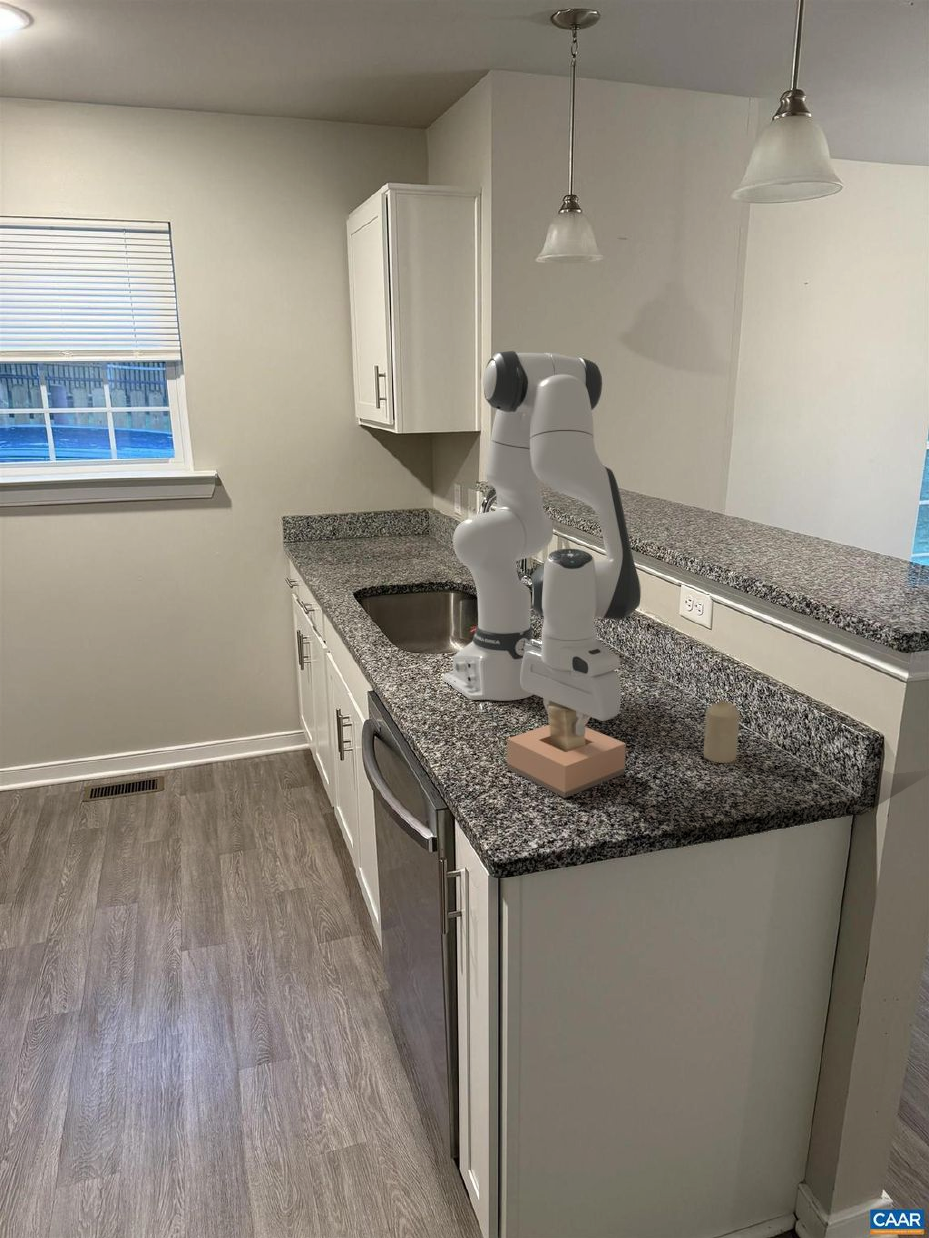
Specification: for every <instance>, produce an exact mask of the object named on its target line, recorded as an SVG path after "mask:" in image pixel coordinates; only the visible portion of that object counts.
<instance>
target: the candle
mask: <svg viewBox="0 0 929 1238" xmlns="http://www.w3.org/2000/svg"><path fill="white" fill-rule="evenodd" d="M705 713H706V714H705V729H704V739H703V740H704V742H703V743H704V744H703V756H704V758H705V759H706V760H708V761H710V762H713V763H716V764H730V763H733V762H735V761H736V760H737V752H738V741H739V740H738V739H739V729H740V727H739V725H740V715H741V713H740V711H739V710H738V708H737V707H736V706H735V705H734V703H731V702H726V701H724V700H720V701H718V702H714V703H713V704H711V705H710V706H709V707H708V708H706V712H705Z"/></svg>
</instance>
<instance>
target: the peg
mask: <svg viewBox="0 0 929 1238" xmlns="http://www.w3.org/2000/svg"><path fill="white" fill-rule="evenodd" d="M548 711H549V723H548V724H549V725H550V736H551V746H553V747H555V748H557V749H560V750H562V751H564V752H568V751H571V750H573V749H576V748H579V747H582V746H584V745H585V735H581V736H578V735H576V734H573V733H572V724H573V723H576V722H577V721H578V719H579V717H577V716H576V711H575V710H572V709H570V708H567V707H565V706H562V705H560V704H557V703H556V704H554V705H551V706H548Z"/></svg>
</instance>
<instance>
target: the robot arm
mask: <svg viewBox="0 0 929 1238" xmlns="http://www.w3.org/2000/svg"><path fill="white" fill-rule="evenodd" d="M598 366H599V365H597V364H596V363H595V362H593V361H591V360H589V359H587V358H583V357H576V358H575V357H573V356H568V355H564V354H559V353H554V352H544V353H541V352H515V351H514V350H508V351H501V352H497V353H495V354H493V356H491V358H490V359H489V360H488V362H487V364H486V366H485V371H484V375H483V379H482V380H483V383H482V385H483V394H484V398H485V400H486V402H487V403H488V405H490V406H491V407H492V408H494V409H496V412H495V414H494V420H493V424H492V429H491V435H490V443H489V449H488V455H487V456H488V457H487V463H486V471H485V475H486V480H487V482H488V483H489V485H490V486H492V488H494V490H495V494H496V508H495V510H492V511H488V512H482V513H481V512H480V513H477V514H475V515H473V516H470V517H469V518H467V519H465V520H463V521H462V522H460V523H459V524H458V525H457V526H456V528H455V529H454V531H453V536H452V547H453V550H454V553H455V555H456V557H457V559H459V561H460V562H461V563H462V564H463V565H464V566H466V568H467V569H468V570H469V572H470V574H471V576H472V578H473V582H474V584H475V585H474V586H475V589H476V595H477V596H476V597H477V613H478V614H477V620H478V621H477V624H478V625H476V626H471V627H470V629H471V630H470V633H474V635H473V638H472V641H471V642H470V643H468V644H467V645H465V646H464V647H463V648H462V649H460V650H459V651H458V652H457V653H456V654H455V655H454V657H453V661H452V670H449V671H448V672H446V673H444V674H443V675H441V676H442V678H441V680H442V682H444V683H445V682H446V683H445V684H447V683H448V684H449V685H448V684H447V685H448V686H450V685H451V686H452V687H451V686H450V687H451V688H453V689H454V690H456V691H458V692H459V693H460V694H461V693H462V695H463V696H464V697H466V698H467V699H468V700H471V701H473V700H474V701H477V700H479V701H483V700H484V701H485V700H487V701H488V700H489V701H501V702H503V701H505V702H506V701H517V700H521V699H522V700H523V699H527V698H530V697H532V696H534V695H535V696H538V697H540V698H543V699H542V700H543V702H542V703H543V706H544V708H545V711H546V713H547V721H548V722H547V723H548V724H550V723H549V711H548V706H551V705H554V704H560V705H562V706H565V707H567V708H570V709H572V710H575V711H576V716H577V717H579V719H578V721H577V722H576V723H573V724H572V733H573V734H576V735H578V736H581V735H584V734H585V727H587V723H588V722H589V721H590V719H591V718H592V719H596V720H597V721H600V722H604V721H608V720H612V719H614V718H615V717H617V715H618V714H619V713H620V711H621V700H622V697H621V695H622V694H621V693H622V691H621V688H622V687H621V679H620V676H619V674H618V672H617V671H616V670H618V669H620V666H621V659H620V656H619V655H618V654H616V653H615V652H613V651H612V650H611V649H609V648H608V647H607V646H605V645H604V644H603V643H602V642H601V641H600V640H599V639H597V629H596V624H595V618H597V619H599V618H600V619H604V620H612V621H613V620H615V621H623V620H624V619H626V618H628V617H629V616H630V615H632V614H633V613H634V612H635V611H636V609H638V608H639V607H640V603H641V598H642V585H641V581H640V578H639V573H638V572H637V571H638V570H637V567H636V564H635V560H634V556H633V552H632V546H631V542H630V538H629V532H628V527H627V522H626V516H625V512H624V508H623V502H622V498H621V494H620V490H619V486H618V483H617V480H616V477H615V474H614V471H613V470H612V469H610V468H609V467H607V466H605V465H604V464H603V463H602V461H601V459H600V458H599V456H598V453H597V450H596V447H595V436H594V435H595V434H594V419H593V412H592V411H593V410H594V409H595V408H596V407H597V405H598V404H599V401H600V399H601V395H602V389H603V377H602V373H601V370H600V368H599V367H598ZM542 483H543V485H545V486H546V487H547V488H549V489H551V490H552V491H555V492H557V493H559V494H562V495H565V496H568V497H571V498H573V499H575V500H578V501H580V502H582V503H584V504H586V505H587V506H589V507H590V508H592V509H593V511H594V512H595V513H596V515H597V517H598V520H599V524H600V530H601V534H602V535H601V536H602V540H603V545H604V550H605V555H606V559H604V560H602V561H595V559H594V556H593V555H592V554H590V553H589V552H587V551H585V550H583V549H578V548H562V549H560V548H559V549H557V550H553V551H552V552H550V553H549V554H547V556H546V560H545V562H542V564H541V565H540V566H539V567H537V568H536V569H535V570H534V572H533V573H531V576H530V578H531V583H532V594H531V591H530V588H529V587H528V586H527V585H526V584H525V583H523V582H522V581H521V580H520V577H519V573H518V570H517V561H521V560H524V559H528V558H532V557H534V556H536V555H537V554H539V553H540V552H542V551H544V550H545V549H546V548H547V547H548V546H549V545H550V544H551V542H552V541H553V537H554V536H553V535H554V526H553V522H552V520H551V517H550V516H549V514H547V512H546V511H545V509H544V505H543V498H542ZM531 608H532V609H533V610H535V612H536V613H538V614H539V615H540V616H541V617H543V625H542V627H541V639H540V640H539V639H536V638H533V636H534V633H533V626H532V625H531V612H532V611H531Z"/></svg>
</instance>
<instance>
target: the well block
mask: <svg viewBox="0 0 929 1238" xmlns="http://www.w3.org/2000/svg"><path fill="white" fill-rule="evenodd" d="M584 735H585V745H584V746H582V747H579V748H576V749H573V750H571V751H568V752H564V751H562V750H560V749H557V748H555V747H553V746H551V736H550V724H547V725H544V726H541V727H538V728H535V729H532V730H529V731H526V732H523V733H520V734H516V735H514V736H511V737H507V739H506V769H508V770H509V771H511V772H512V773H515V774H517V775H519V776H521V777H523V778H525V779H527V780H529V781H531V782H533V783H534V784H537V785H539V786H540V787H541V788H544V789H546V790H548V791H550V792H552V793H554V794H556V795H558V796H559V797H561V798H563V799H565V798H568V797H572V796H573V795H577V794H578V793H581V792H583V791H586V790H587V789H591V788H592V787H596V786H597V785H600V784H602V783H603V784H604V783H605V782H608V781H610V780H613V779H614V778H617V777H620V776H622V775H625V769H626V768H625V767H626V748H627V746H626V744H627V743H625V742H623V741H621V740H619V739H617V738H613V737H611V736H609V735H607V734H604V733H602V732H599V731H596V730H594V729H592V728H590V727H587V726H586V727H585V734H584Z"/></svg>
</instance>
